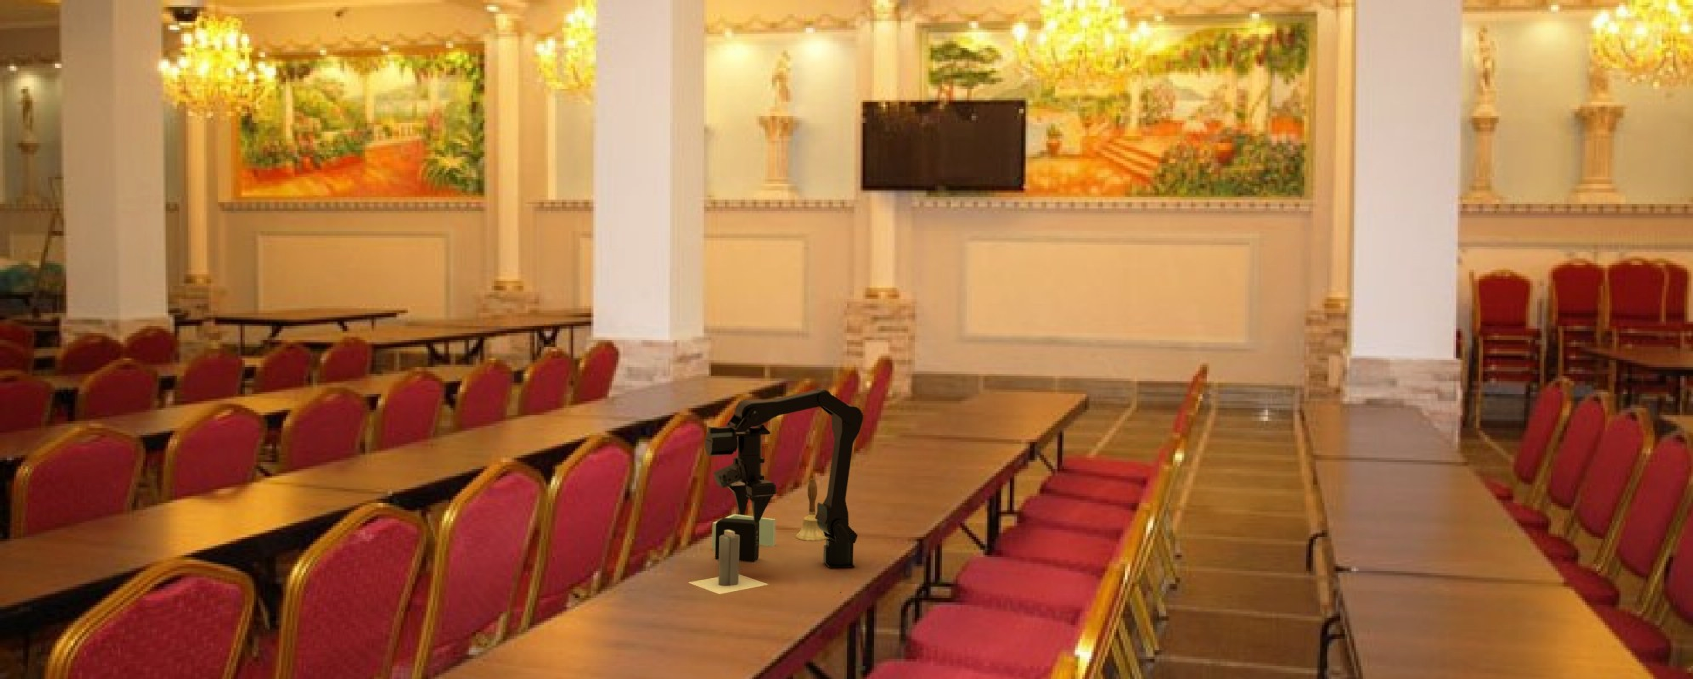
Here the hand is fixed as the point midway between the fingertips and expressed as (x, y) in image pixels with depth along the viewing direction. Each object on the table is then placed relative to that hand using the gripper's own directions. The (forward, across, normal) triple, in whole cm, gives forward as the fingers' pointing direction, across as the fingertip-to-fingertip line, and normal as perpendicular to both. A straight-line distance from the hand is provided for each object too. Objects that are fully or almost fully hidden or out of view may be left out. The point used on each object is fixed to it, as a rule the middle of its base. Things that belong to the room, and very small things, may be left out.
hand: (749, 518), depth 320 cm
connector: (+12, +10, -9) cm, 18 cm away
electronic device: (+13, -11, +2) cm, 18 cm away
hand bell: (+14, -28, +30) cm, 43 cm away
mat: (+13, +10, -9) cm, 19 cm away
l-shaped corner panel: (+14, -23, +8) cm, 28 cm away
